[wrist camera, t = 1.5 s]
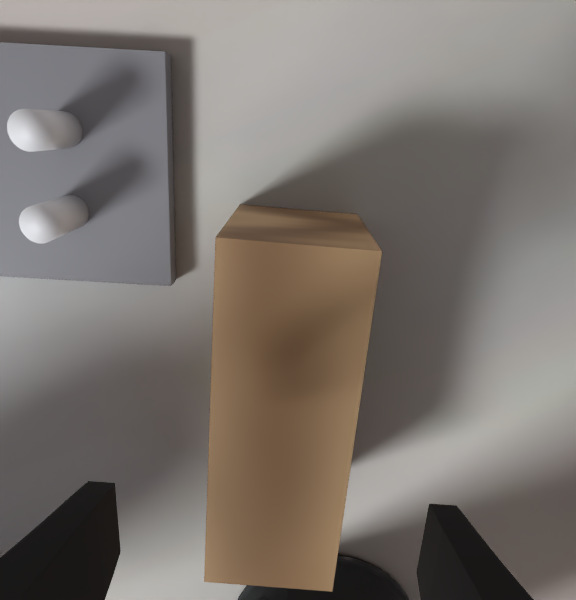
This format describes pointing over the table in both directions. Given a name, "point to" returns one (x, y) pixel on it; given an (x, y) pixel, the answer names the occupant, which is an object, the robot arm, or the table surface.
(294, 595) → the milk frother
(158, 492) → the table surface
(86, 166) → the peg plate
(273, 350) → the shelf block
